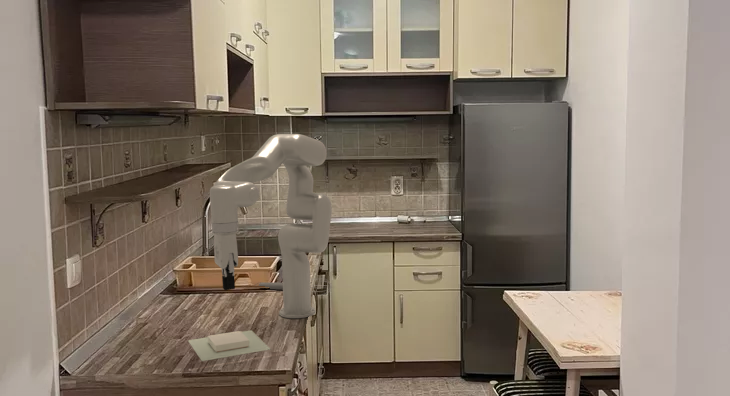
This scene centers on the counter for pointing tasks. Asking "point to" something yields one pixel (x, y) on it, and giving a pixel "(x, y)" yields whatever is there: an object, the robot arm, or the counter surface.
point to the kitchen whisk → (280, 285)
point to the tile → (228, 341)
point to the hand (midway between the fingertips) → (229, 288)
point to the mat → (208, 352)
